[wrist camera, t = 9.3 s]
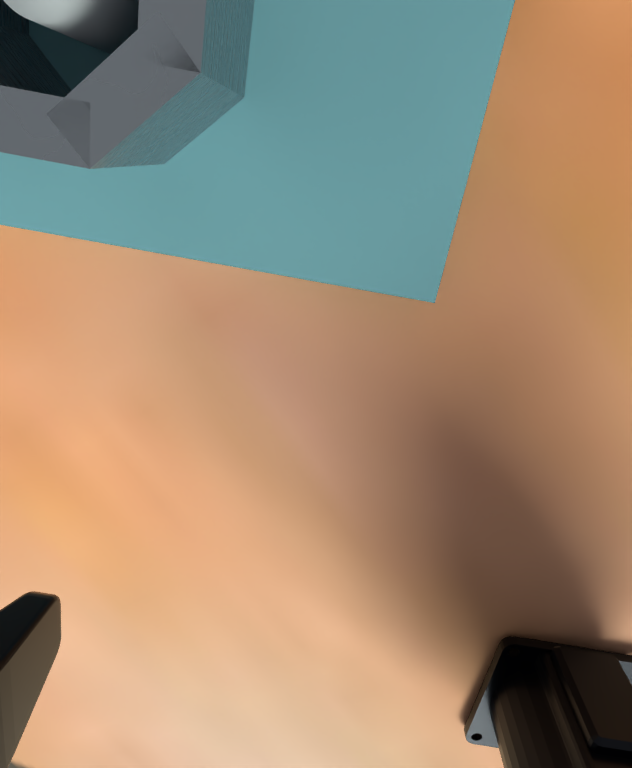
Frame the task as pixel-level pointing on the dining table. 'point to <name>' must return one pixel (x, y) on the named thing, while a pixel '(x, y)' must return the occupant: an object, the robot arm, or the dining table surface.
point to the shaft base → (290, 143)
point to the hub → (127, 87)
